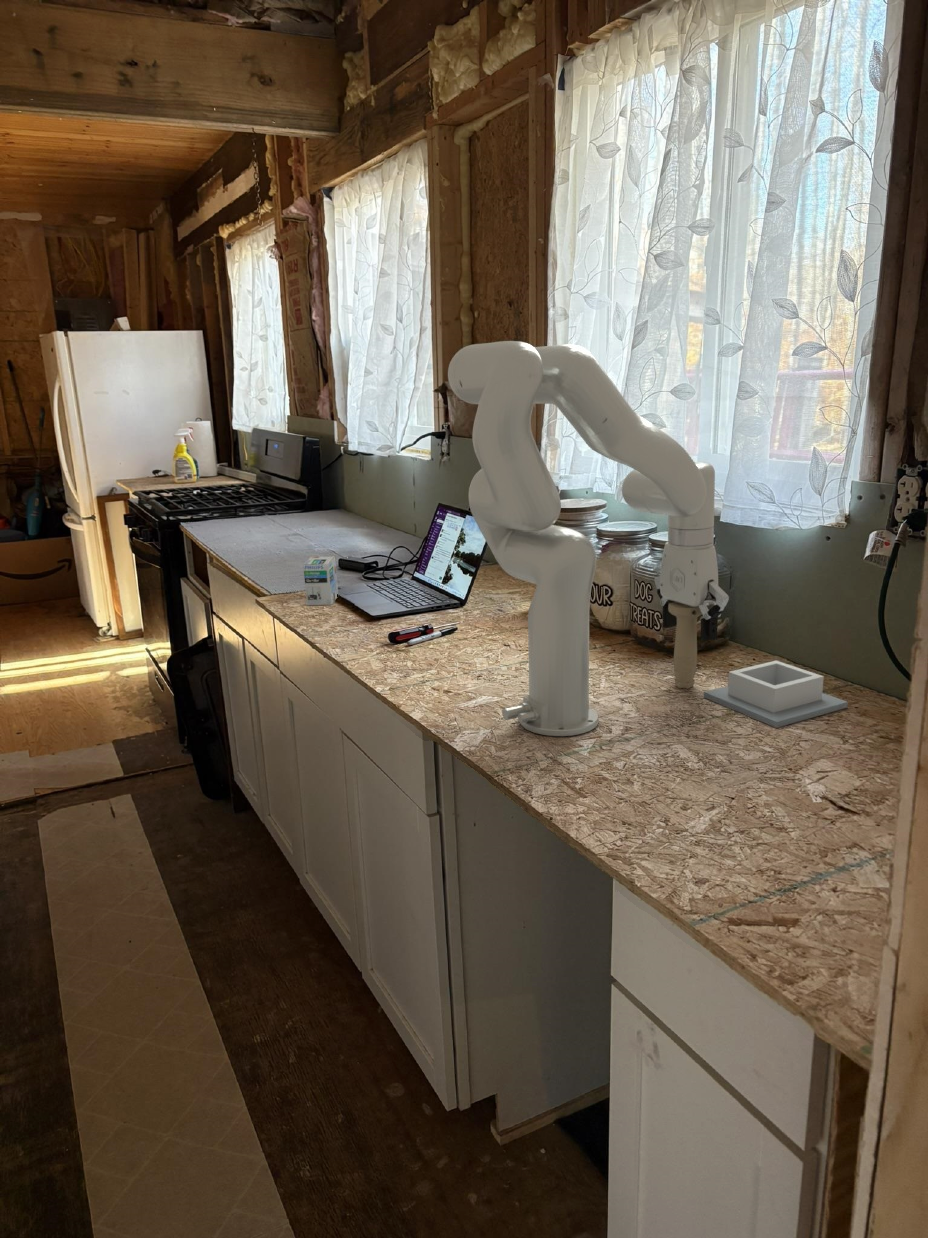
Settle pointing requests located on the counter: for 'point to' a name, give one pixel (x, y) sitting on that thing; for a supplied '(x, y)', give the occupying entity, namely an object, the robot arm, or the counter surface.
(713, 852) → the counter surface
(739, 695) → the socket plate
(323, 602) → the light bulb box
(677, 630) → the handle
